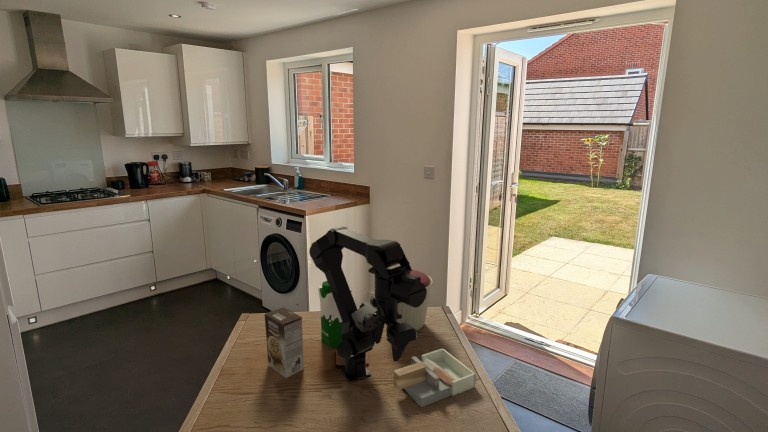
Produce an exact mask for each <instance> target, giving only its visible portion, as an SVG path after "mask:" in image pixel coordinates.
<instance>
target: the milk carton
mask: <svg viewBox="0 0 768 432" xmlns="http://www.w3.org/2000/svg"><path fill="white" fill-rule="evenodd" d="M317 289H318V295H319V296H318V297H319V305H320V326H321V329H320V330H321V331H320V332H321V334H320V335H321V340H322V342H324V343H325V345H326V346H328V348H330V349H331V350H333V349H336V347H337V346H339V345H340V344H341V343H342V342H343V341H342V337H341V332H342V326H343V322H342V319H341V316H340V314H339V311H338V308H337V306H336V303H335V300H334V298H333V295H332V292H331V290H330V287H329V284H328V281H327V280H326V281H322V283H321V285H320V286H318V287H317ZM350 291H351V293H352V291H353V290H352V288H350Z"/></svg>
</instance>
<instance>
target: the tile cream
mask: <svg viewBox="0 0 768 432" xmlns="http://www.w3.org/2000/svg"><path fill="white" fill-rule="evenodd" d="M423 363H424V364H425V365H426V366H427V367H428V368H429V369H430V370H432V371H433V372H435V371H436V370H437V368H438V369H440V370H442V371H444V370H443V369H442V368H441V367H440V366H439V365H437V364H436V363H434V362H433V361H431V360H429V359H427V358H425V360H424V362H423ZM444 372H446V371H444Z"/></svg>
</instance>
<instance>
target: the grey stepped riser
mask: <svg viewBox="0 0 768 432" xmlns="http://www.w3.org/2000/svg"><path fill="white" fill-rule="evenodd" d="M420 361H421V362H422V363H423V361H422V360H420ZM423 364H424V363H423ZM410 365H411V364H410ZM410 365H406V366H403V367H401V368H404V367H407V366H410ZM401 368H397V369H395V370H398V369H401ZM395 370H393V372H394V371H395ZM431 371H432V370H431ZM432 372H433V371H432ZM433 373H435V372H433ZM403 390H404V391H406V393H407V394H408V395H409V396H410V397H411V398H412V399H413V400H414V401H415V402H416V403H417V404H418V406H419V407H420V408H424V407H426V406H428V405H431V404H434V403H435V402H438V401H441V400H443V399H446V398H448V397H450V396H451V397H452V395H451V386H450V385H449V384H447V383H445V382H444V381H443V380H442V379H441V378H440V377H439V389H436V390H435V389H434V388H433V387H432V386H431V385H430V384H428V383H427V382H426V381H423V382H420V383H417V384H414V385H412V386H409V387H406V388H403Z"/></svg>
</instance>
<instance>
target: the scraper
mask: <svg viewBox="0 0 768 432" xmlns="http://www.w3.org/2000/svg"><path fill="white" fill-rule="evenodd" d="M410 359H411V361H410V363H411V364H410V366H409V365H406V366H407V367H406V366H403V367H404V368H403V367H401V369H400V368H397V369H398V370H397V369H395V371H394V370H393V385H394V386H395V388H396V389H397V390H398V391H400V390H404V388H406V387H409V386H412V385H414V384H417V383H420V382H423V381H426V382H427V383H428V384H430V385H431V386H432V387H433V388H434V389H435V390H436V389H439V377H438V376H437V375H436V374H435V373H433V372H432V371H431V370H430V369H429V368H428V367H427V366H426V365H425V364H423V363H422V362H421V361H422V360H420V359H419V358H418V357H417V356H415V355H414V356H412V357H411V358H410Z"/></svg>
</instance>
